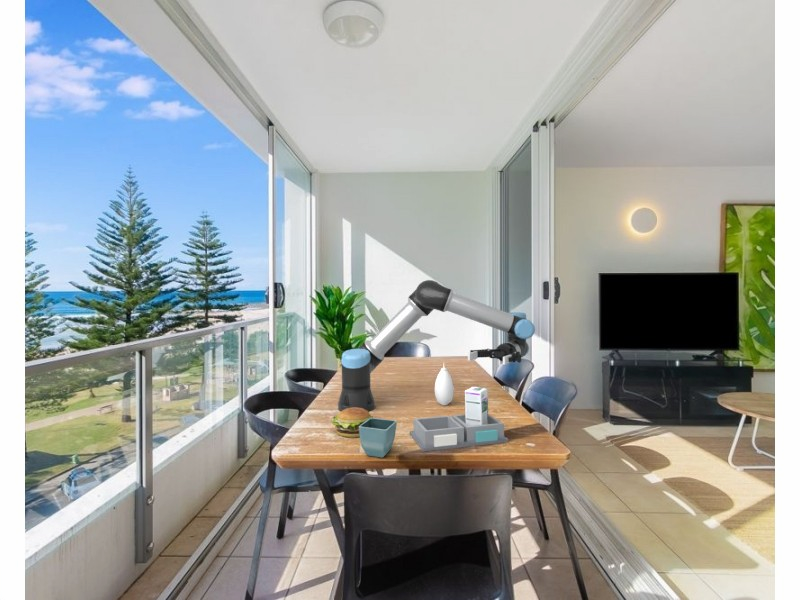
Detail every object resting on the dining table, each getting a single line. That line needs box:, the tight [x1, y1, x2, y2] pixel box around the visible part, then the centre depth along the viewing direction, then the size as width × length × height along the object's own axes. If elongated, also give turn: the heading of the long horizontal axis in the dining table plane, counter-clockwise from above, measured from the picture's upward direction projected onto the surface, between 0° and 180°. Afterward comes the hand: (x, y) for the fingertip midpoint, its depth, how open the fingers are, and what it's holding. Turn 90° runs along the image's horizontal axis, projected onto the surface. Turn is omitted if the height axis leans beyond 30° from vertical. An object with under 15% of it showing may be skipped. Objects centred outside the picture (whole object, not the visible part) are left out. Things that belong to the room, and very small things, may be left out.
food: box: [331, 407, 374, 438], centre depth 134 cm, size 14×14×8 cm
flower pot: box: [359, 417, 398, 458], centre depth 115 cm, size 9×9×9 cm
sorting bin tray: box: [409, 413, 509, 453], centre depth 127 cm, size 28×15×6 cm, turn 104°
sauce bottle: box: [434, 364, 455, 407], centre depth 165 cm, size 8×8×18 cm
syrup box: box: [464, 386, 489, 426], centre depth 129 cm, size 6×6×14 cm
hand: (485, 358), depth 143 cm, fingers open, 13 cm apart
